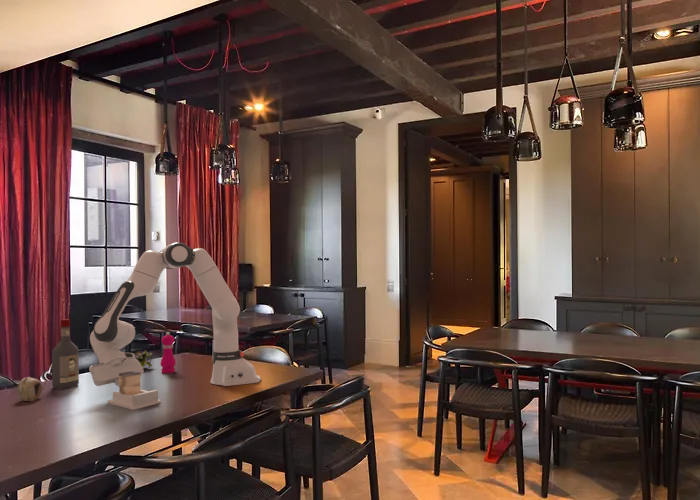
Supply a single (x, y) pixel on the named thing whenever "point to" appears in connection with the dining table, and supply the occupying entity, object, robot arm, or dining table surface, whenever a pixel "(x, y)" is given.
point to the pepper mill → (168, 354)
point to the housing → (135, 399)
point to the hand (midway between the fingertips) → (125, 388)
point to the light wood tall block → (129, 383)
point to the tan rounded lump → (29, 389)
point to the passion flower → (143, 358)
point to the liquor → (65, 360)
